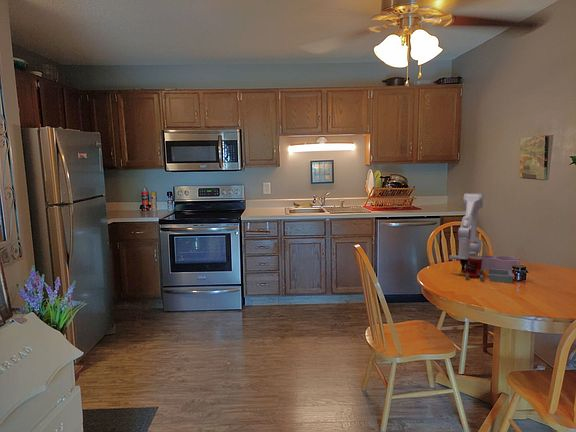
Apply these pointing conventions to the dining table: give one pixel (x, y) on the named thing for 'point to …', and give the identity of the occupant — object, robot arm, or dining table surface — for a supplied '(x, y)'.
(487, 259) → the clip
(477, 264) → the canned food
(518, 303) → the dining table surface
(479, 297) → the dining table surface
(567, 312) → the dining table surface
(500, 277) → the end cradle
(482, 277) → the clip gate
